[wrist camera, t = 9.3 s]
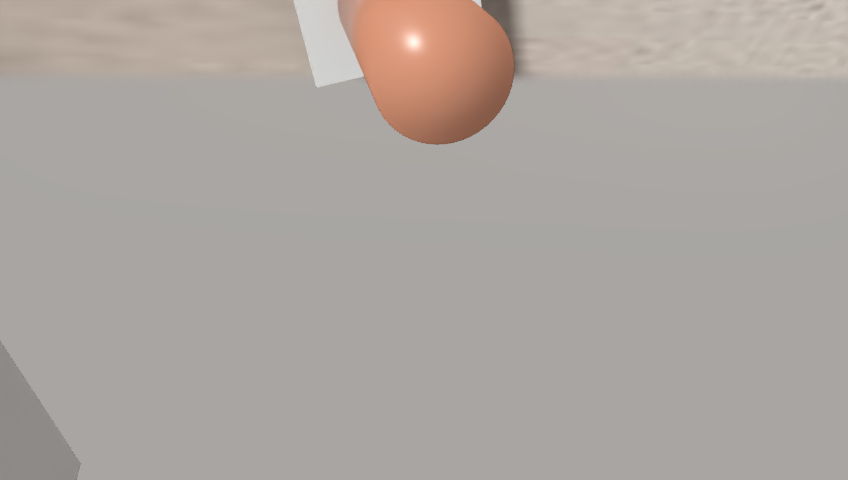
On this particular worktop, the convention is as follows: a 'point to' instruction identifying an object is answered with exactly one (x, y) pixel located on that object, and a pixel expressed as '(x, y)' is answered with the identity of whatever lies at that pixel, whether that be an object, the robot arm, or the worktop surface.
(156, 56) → the worktop surface
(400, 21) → the white plank with peg
